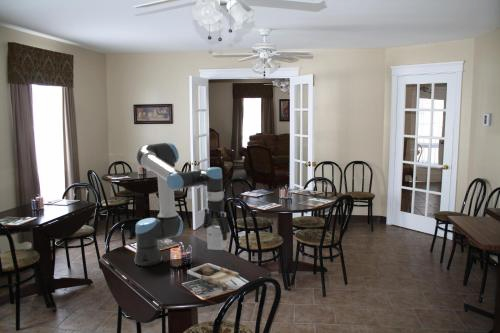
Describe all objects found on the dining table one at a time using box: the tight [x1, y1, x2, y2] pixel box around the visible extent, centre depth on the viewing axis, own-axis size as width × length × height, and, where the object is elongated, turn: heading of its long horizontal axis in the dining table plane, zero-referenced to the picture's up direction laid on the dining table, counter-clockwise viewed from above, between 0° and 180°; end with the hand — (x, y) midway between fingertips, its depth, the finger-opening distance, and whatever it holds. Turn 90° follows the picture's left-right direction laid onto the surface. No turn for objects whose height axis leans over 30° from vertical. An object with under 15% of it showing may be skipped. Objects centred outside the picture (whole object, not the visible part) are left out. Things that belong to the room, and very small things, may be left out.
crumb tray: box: [186, 262, 222, 280], centre depth 219 cm, size 11×14×3 cm
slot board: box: [201, 267, 240, 286], centre depth 211 cm, size 12×14×3 cm
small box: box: [206, 225, 227, 251], centre depth 210 cm, size 8×6×10 cm
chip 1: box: [198, 265, 211, 273], centre depth 221 cm, size 4×4×2 cm
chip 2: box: [202, 267, 215, 276], centre depth 217 cm, size 4×4×2 cm
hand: (216, 244), depth 211 cm, fingers closed on small box, 9 cm apart
